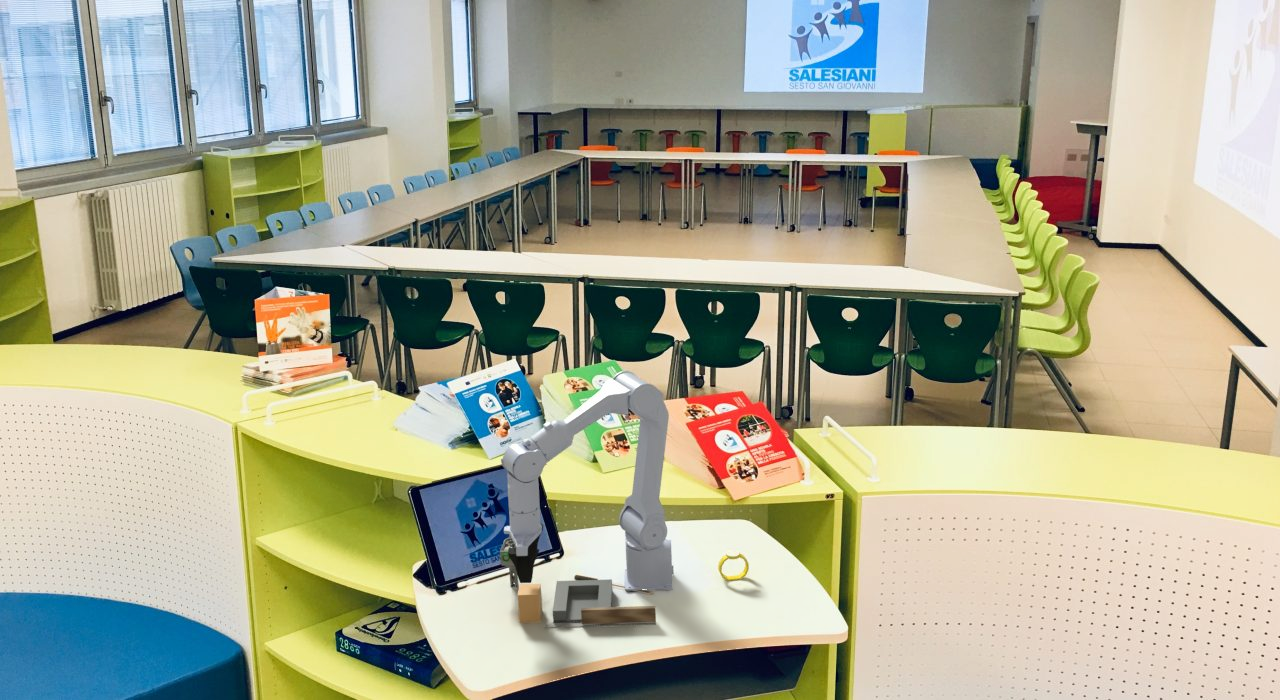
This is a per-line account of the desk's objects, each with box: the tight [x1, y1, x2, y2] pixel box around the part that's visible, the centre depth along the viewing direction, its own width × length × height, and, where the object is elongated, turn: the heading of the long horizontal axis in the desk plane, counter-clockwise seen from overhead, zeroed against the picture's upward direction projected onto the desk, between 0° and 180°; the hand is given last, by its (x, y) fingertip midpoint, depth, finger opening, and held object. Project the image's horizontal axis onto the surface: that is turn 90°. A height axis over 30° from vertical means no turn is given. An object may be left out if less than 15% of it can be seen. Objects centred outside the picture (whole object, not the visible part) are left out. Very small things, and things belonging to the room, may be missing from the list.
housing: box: [544, 579, 657, 629], centre depth 212 cm, size 21×13×3 cm, turn 90°
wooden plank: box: [581, 605, 657, 624], centre depth 206 cm, size 14×1×3 cm, turn 90°
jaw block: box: [517, 583, 543, 624], centre depth 209 cm, size 4×4×6 cm
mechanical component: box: [499, 534, 519, 587], centre depth 220 cm, size 3×10×10 cm, turn 174°
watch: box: [717, 549, 750, 582], centre depth 220 cm, size 6×3×6 cm, turn 99°
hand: (527, 571), depth 207 cm, fingers open, 7 cm apart
